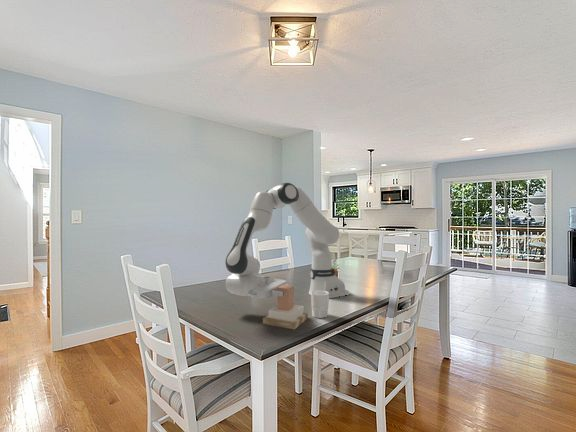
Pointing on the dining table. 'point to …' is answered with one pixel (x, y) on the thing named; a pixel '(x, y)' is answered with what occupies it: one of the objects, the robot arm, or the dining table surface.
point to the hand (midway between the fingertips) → (288, 291)
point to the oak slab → (285, 321)
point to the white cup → (320, 303)
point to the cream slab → (286, 313)
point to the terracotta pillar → (286, 297)
